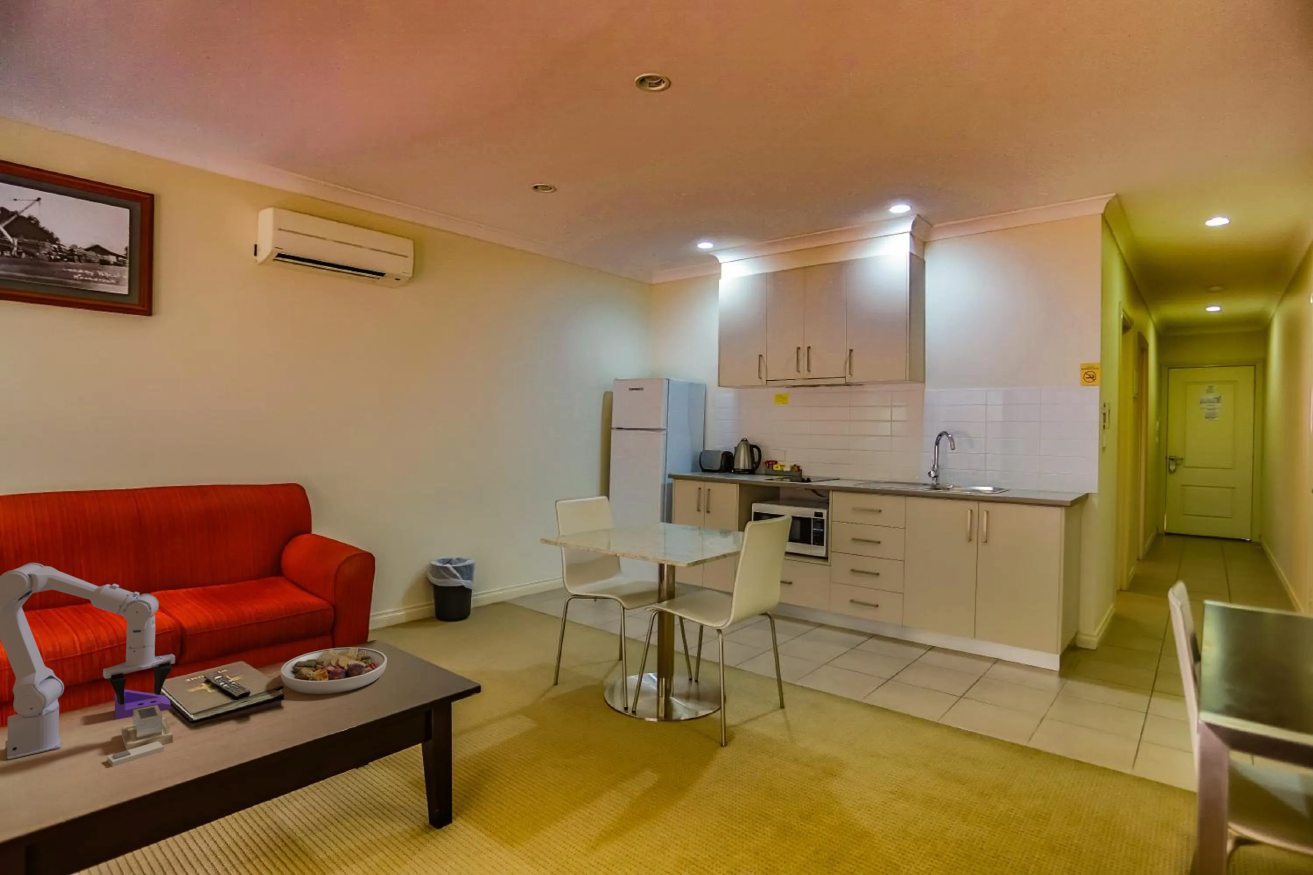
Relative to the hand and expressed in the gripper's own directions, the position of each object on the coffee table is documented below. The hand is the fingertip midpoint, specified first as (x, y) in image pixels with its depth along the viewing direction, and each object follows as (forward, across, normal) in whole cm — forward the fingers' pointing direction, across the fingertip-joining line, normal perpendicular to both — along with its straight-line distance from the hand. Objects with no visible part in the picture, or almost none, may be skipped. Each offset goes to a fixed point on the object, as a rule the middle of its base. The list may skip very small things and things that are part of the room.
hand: (139, 698), depth 173 cm
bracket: (+10, +7, +18) cm, 21 cm away
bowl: (+10, +52, 0) cm, 53 cm away
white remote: (+10, -4, -10) cm, 15 cm away
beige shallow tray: (+10, +1, -2) cm, 10 cm away
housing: (+8, +1, -2) cm, 9 cm away
